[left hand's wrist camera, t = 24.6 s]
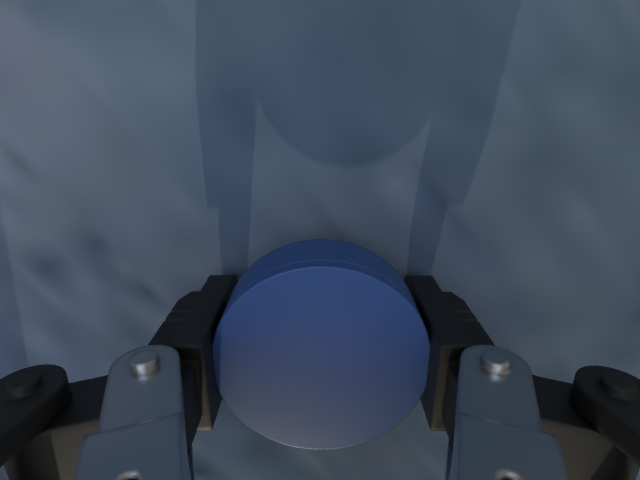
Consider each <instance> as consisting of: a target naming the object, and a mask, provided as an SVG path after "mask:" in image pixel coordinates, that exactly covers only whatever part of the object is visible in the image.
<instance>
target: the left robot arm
mask: <svg viewBox="0 0 640 480" xmlns="http://www.w3.org/2000/svg"><path fill="white" fill-rule="evenodd" d="M404 282H405V284H406V285H407V287H408V289H409V291H410V293H411V295H412V298H413V300H414V302H415V304H416V307H417V309H418V311H419V314H420V316H421V318H422V320H423V322H424V325H425V327H426V330H427V332H428V335H429V339H430V354H429V363H428V371H427V380H426V387H425V390H424V392H423V394H422V396H421V398H420V399H421V402H422V405H423V408H424V412H425V415H426V418H427V421H428V424H429V427H430V430H431V431H446V432H447V434H448V437H449V441H448V448H447V457H446V469H445V480H635V479H636V476H637V474H638V471H639V468H640V379H638V378H636V377H634V376H632V375H630V374H628V373H625V372H623V371H620V370H617V369H613V368H609V367H604V366H586V367H582V368H580V369H579V370H578V371H577V372H576V374H575V377H574V381H573V384H571V383H566V382H562V381H557V380H552V379H547V378H542V377H538V376H535V375H532V373H531V370H530V367H529V365H528V364H527V363H526V362H525V361H524V360H523V359H522V358H521V357H520V356H518V355H517V354H515V353H513V352H511V351H509V350H506V349H504V348H501V347H497V346H495V345H494V343H493V342H492V341H491V339H490V338H489V336H488V335H487V333H486V332H485V330H484V329H483V327H482V326H481V325H480V323H479V322H477V319H476V317H475V316H474V314H473V313H471V310H470V309H469V307H468V306H467V304H466V303H465V301H464V300H462V299H461V298H459V297H458V296H456V295H455V294H453V293H452V292H442V291H441V289H440V288H439V286H438V284H437V283H436V281H435V279H434V278H433V276H406V277H405V280H404ZM237 283H238V279H237V276H236V275H210V276H209V278H208V280H207V281H206V283H205V285H204V286H203V288H202V290H201V291H200V292H190V293H189V294H187V295H186V296H184V297H183V298H181V299H180V300H178V302H177V303H176V304H175V306H174V307H173V309H172V310H171V313H169V315H168V316H167V318H166V321H164V322H163V324H162V325H161V327H160V328H159V330H158V331H157V332H156V334H155V335H154V337H153V338H152V340H151V341H150V343H149V344H148V346H143V347H139V348H136V349H134V350H131V351H129V352H127V353H125V354H123V355H122V356H120V357H119V358H118V359H117V360H116V361H115V362H114V363H113V364H112V365H111V367H110V370H109V373H108V375H106V376H102V377H98V378H93V379H88V380H83V381H79V382H74V383H69V382H68V378H67V374H66V372H65V370H64V369H63V368H62V367H60V366H56V365H37V366H32V367H28V368H24V369H22V370H19V371H16V372H14V373H11V374H9V375H7V376H5V377H3V378H2V379H0V467H1V466H2V465H4V467H5V469H6V472H7V475H8V478H9V480H195V469H194V457H193V448H192V442H193V439H194V436H195V434H196V431H197V430H212V429H213V425H214V422H215V419H216V416H217V413H218V410H219V407H220V403H221V400H222V396H221V394H220V392H219V390H218V388H217V384H216V376H215V367H214V358H213V348H212V345H213V339H214V336H215V333H216V330H217V327H218V324H219V322H220V320H221V317H222V315H223V313H224V310H225V308H226V306H227V303H228V301H229V299H230V296H231V294H232V292H233V290H234V288H235V286H236V284H237Z"/></svg>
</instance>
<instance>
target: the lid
mask: <svg viewBox="0 0 640 480" xmlns="http://www.w3.org/2000/svg"><path fill="white" fill-rule="evenodd" d="M212 348H213V358H214V367H215V376H216V384H217V388H218V390H219V392H220V394H221V396H222V398H223V400H224V401H225V403H226V404H227V406H228V407H229V409H230V410H231V411H232V412H233V413H234V414H235V415H236V416H237V417H238V418H239V419H240V420H241V421H242V422H243V423H244V424H246V425H247V426H248V427H250V428H251V429H253V430H254V431H256V432H257V433H259V434H261V435H263V436H265V437H267V438H269V439H271V440H274V441H276V442H279V443H282V444H286V445H289V446H293V447H299V448H305V449H318V450H321V449H337V448H345V447H349V446H353V445H358V444H360V443H363V442H366V441H369V440H371V439H374V438H376V437H378V436H380V435H382V434H383V433H385V432H387V431H388V430H390V429H392V428H393V427H394V426H396V425H397V424H398V423H399V422H401V421H402V420H403V419H404V418H405V417H406V416H407V415H408V414H409V413H410V412H411V411H412V409H413V408H414V407H415V405H416V404H417V403H418V401H419V399H420V398H421V396H422V394H423V392H424V390H425V387H426V380H427V371H428V363H429V354H430V339H429V335H428V332H427V330H426V327H425V325H424V322H423V320H422V318H421V316H420V314H419V311H418V309H417V307H416V304H415V302H414V300H413V298H412V295H411V293H410V291H409V289H408V287H407V285H406V284H405V282H404V280H403V279H402V277H401V276H400V275H399V274H398V273H397V271H396V270H395V269H394V268H393V267H392V266H391V265H390V264H388V263H387V262H386V261H385V260H384V259H382V258H381V257H379V256H378V255H376V254H375V253H373V252H371V251H369V250H367V249H365V248H363V247H360V246H357V245H354V244H351V243H347V242H342V241H337V240H325V239H322V240H307V241H301V242H296V243H292V244H289V245H285V246H283V247H281V248H278V249H276V250H274V251H272V252H270V253H268V254H267V255H265V256H263V257H262V258H260V259H259V260H258V261H257V262H255V263H254V264H253V265H252V266H251V267H250V268H249V269H248V270H247V271H246V272H245V273H244V274H243V276H242V277H241V278H240V280H239V281H238V283H237V284H236V286H235V288H234V290H233V292H232V294H231V296H230V299H229V301H228V303H227V306H226V308H225V310H224V313H223V315H222V317H221V320H220V322H219V324H218V327H217V330H216V333H215V336H214V339H213V345H212Z"/></svg>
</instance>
